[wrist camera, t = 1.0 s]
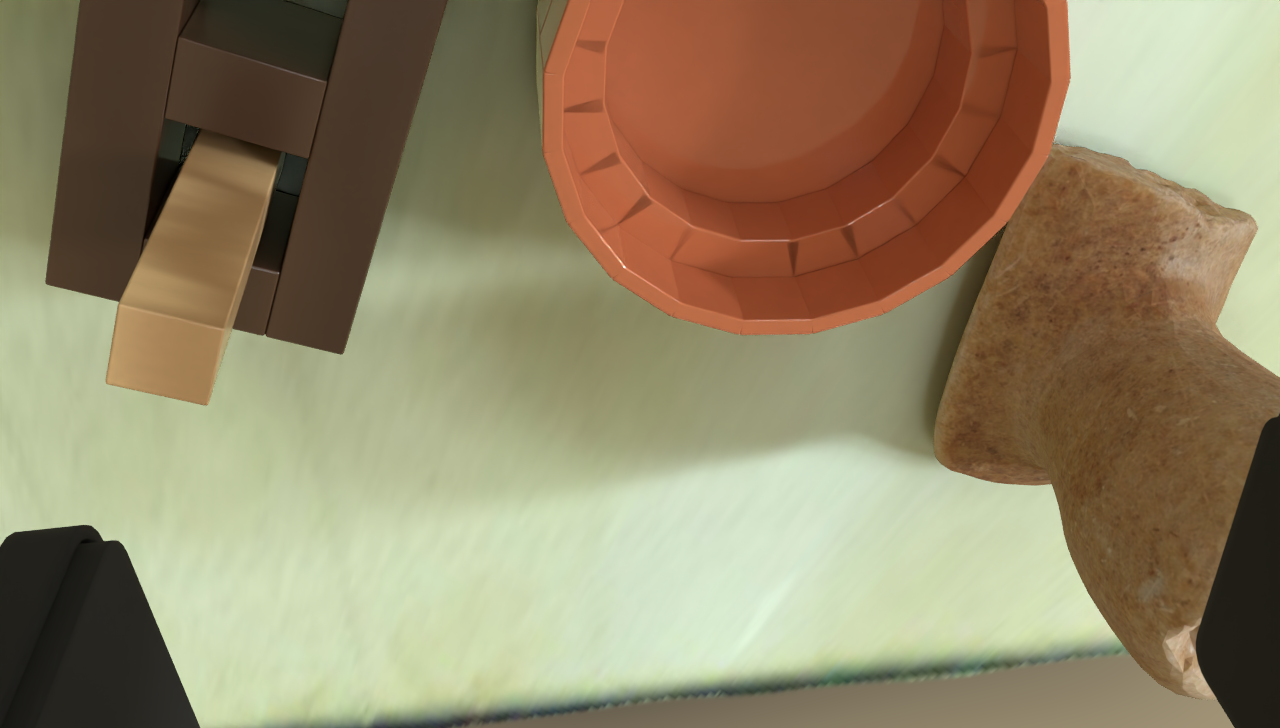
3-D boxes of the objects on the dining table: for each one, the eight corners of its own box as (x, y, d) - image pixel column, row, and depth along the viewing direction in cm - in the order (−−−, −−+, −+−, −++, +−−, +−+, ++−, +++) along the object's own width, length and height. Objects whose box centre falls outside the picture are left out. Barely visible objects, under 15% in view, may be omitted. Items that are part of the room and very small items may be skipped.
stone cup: (1143, 471, 52) (1342, 761, 40) (891, 451, 50) (1021, 752, 38) (1316, 160, 44) (1636, 409, 31) (1021, 119, 41) (1243, 370, 29)
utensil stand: (89, 206, 40) (44, 284, 36) (158, -284, 32) (110, -255, 28) (357, 275, 42) (343, 356, 38) (482, -162, 34) (482, -118, 30)
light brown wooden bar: (208, 148, 39) (104, 384, 28) (220, 83, 38) (117, 304, 27) (282, 169, 40) (207, 407, 29) (297, 105, 38) (225, 330, 28)
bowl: (476, 174, 40) (475, 264, 36) (636, -300, 33) (661, -267, 28) (864, 287, 45) (909, 381, 40) (1086, -106, 37) (1176, -48, 32)
